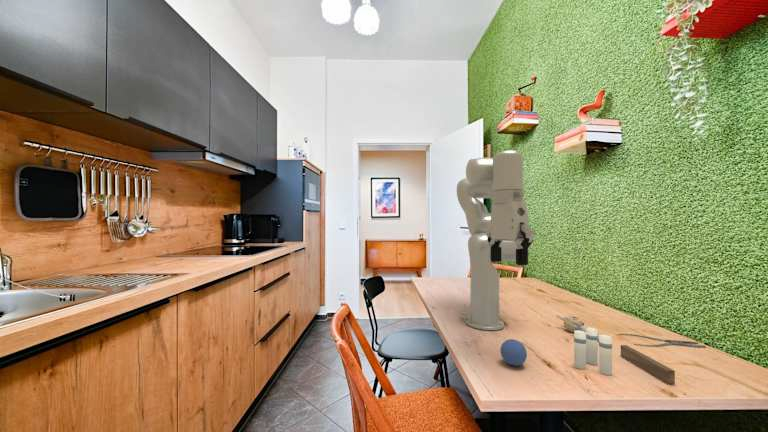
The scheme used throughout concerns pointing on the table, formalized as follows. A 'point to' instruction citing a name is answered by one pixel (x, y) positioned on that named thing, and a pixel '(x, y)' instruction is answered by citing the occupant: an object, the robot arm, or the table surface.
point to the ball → (513, 352)
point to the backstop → (648, 364)
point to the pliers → (671, 342)
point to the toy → (573, 323)
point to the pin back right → (605, 354)
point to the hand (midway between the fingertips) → (508, 263)
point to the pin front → (580, 349)
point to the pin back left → (591, 346)
